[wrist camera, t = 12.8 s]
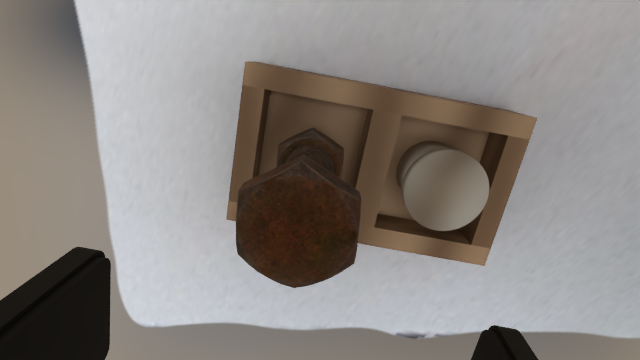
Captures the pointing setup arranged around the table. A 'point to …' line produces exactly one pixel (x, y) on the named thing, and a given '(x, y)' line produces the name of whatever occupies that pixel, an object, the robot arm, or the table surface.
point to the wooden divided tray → (391, 156)
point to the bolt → (300, 214)
